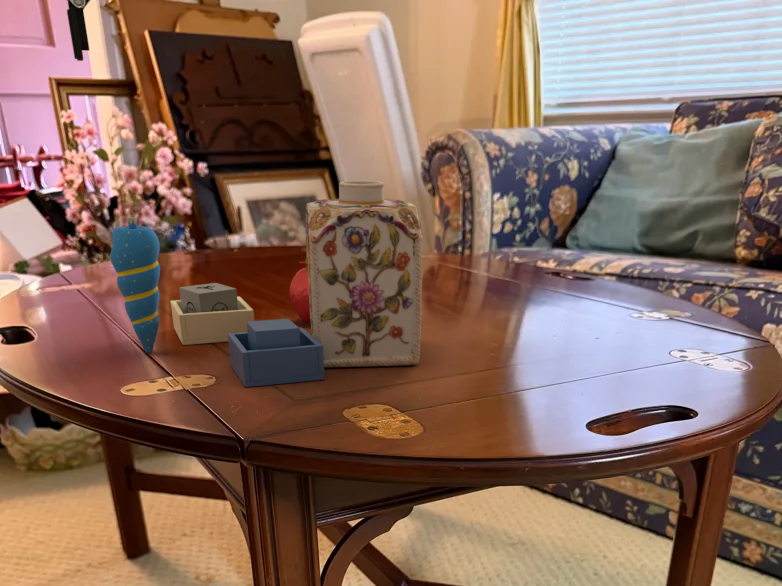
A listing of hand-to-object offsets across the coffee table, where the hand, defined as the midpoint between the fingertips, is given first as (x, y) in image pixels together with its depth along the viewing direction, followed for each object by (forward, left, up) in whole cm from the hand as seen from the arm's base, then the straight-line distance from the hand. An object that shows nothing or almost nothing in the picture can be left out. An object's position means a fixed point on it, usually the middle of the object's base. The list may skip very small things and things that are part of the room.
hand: (24, 57), depth 71 cm
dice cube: (+15, +6, -28) cm, 32 cm away
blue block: (+19, -13, -28) cm, 36 cm away
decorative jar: (+30, -9, -28) cm, 42 cm away
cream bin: (+16, +6, -28) cm, 33 cm away
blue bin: (+19, -13, -28) cm, 36 cm away
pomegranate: (+31, +8, -28) cm, 43 cm away
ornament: (+7, -1, -28) cm, 29 cm away
